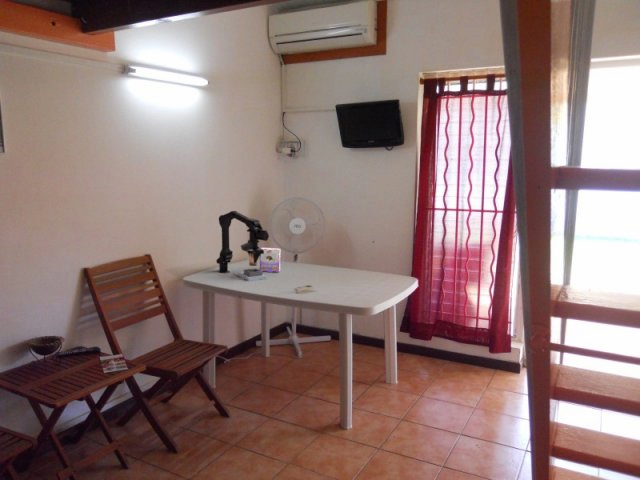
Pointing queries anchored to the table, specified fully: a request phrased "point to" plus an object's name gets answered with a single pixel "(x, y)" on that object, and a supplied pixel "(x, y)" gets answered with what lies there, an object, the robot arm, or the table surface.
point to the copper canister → (252, 260)
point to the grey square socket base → (251, 274)
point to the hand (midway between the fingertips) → (253, 262)
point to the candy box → (270, 260)
